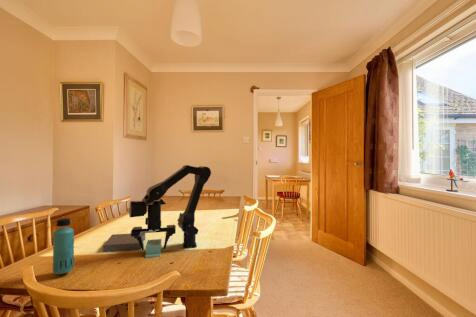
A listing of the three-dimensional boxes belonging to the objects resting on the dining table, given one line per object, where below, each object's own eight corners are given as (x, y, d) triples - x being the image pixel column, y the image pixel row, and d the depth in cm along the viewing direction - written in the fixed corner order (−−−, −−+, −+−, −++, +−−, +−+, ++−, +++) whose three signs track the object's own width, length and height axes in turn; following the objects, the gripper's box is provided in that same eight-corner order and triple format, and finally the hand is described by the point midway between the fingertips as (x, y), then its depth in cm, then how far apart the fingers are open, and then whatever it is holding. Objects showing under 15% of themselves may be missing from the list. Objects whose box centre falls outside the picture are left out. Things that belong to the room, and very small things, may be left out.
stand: (141, 249, 116) (141, 242, 116) (103, 252, 112) (103, 245, 112) (145, 238, 131) (145, 232, 131) (112, 240, 128) (112, 234, 128)
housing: (160, 256, 107) (160, 246, 107) (145, 258, 106) (145, 247, 106) (161, 247, 119) (161, 237, 119) (148, 248, 118) (148, 238, 118)
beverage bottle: (57, 280, 86) (57, 222, 86) (48, 275, 90) (49, 219, 90) (77, 272, 92) (78, 218, 92) (68, 268, 95) (69, 216, 95)
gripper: (175, 210, 123) (175, 242, 123) (134, 211, 118) (134, 244, 118) (175, 215, 112) (175, 250, 112) (130, 217, 107) (130, 253, 107)
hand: (153, 249), depth 113 cm, fingers open, 9 cm apart
